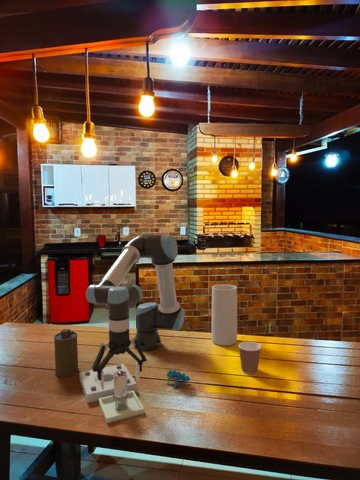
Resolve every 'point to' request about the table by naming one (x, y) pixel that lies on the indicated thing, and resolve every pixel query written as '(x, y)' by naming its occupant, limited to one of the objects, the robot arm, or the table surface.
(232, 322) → the vase
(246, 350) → the coffee cup
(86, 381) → the bearing plate
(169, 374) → the teal bumpy figure
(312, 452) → the table surface
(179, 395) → the table surface
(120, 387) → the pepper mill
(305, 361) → the table surface
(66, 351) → the canister
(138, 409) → the parts tray
